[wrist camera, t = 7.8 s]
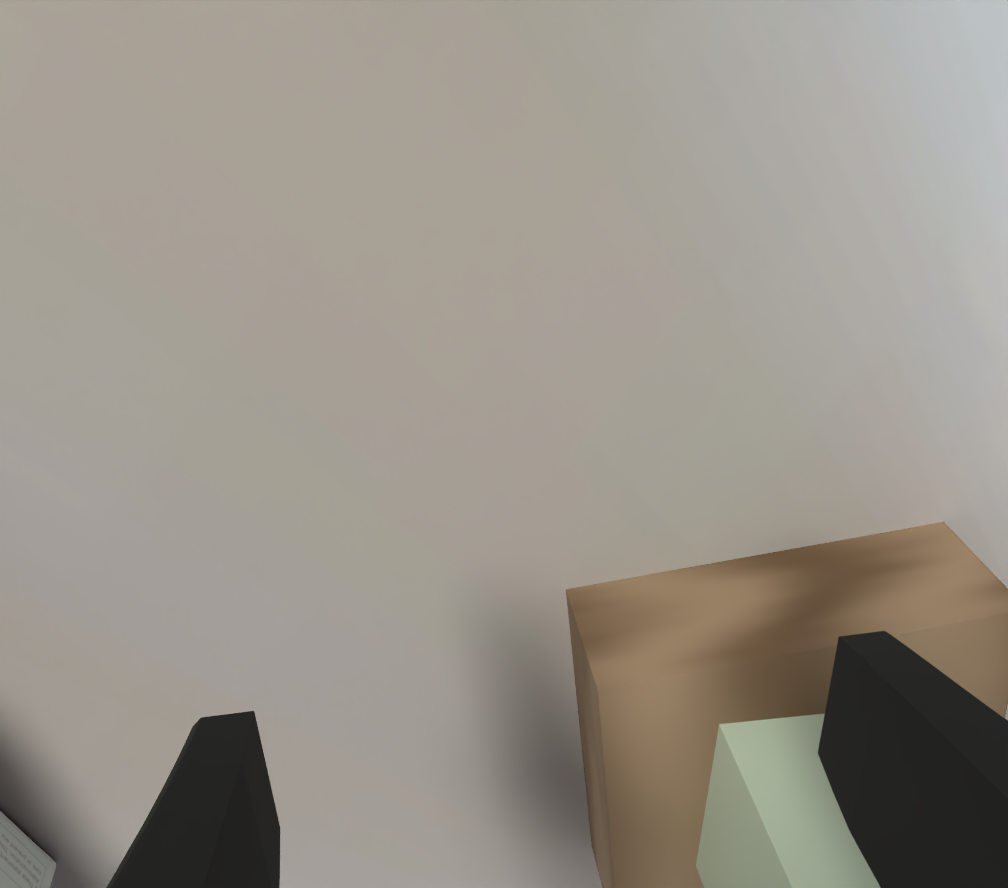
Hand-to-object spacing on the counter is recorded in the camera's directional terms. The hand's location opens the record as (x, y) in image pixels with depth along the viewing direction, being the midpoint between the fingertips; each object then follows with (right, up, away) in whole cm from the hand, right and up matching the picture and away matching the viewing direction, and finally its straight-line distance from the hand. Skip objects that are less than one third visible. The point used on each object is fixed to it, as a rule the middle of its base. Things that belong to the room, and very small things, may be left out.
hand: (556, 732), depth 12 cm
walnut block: (+6, -3, +16) cm, 17 cm away
